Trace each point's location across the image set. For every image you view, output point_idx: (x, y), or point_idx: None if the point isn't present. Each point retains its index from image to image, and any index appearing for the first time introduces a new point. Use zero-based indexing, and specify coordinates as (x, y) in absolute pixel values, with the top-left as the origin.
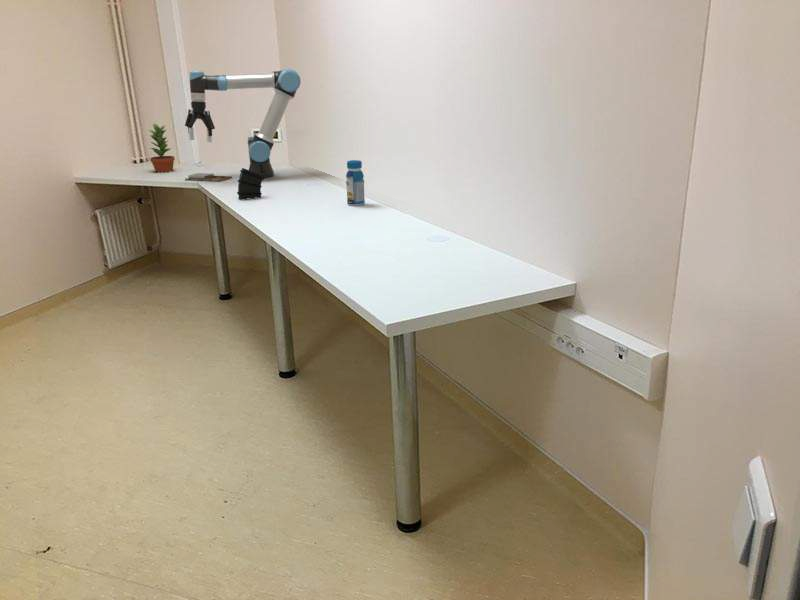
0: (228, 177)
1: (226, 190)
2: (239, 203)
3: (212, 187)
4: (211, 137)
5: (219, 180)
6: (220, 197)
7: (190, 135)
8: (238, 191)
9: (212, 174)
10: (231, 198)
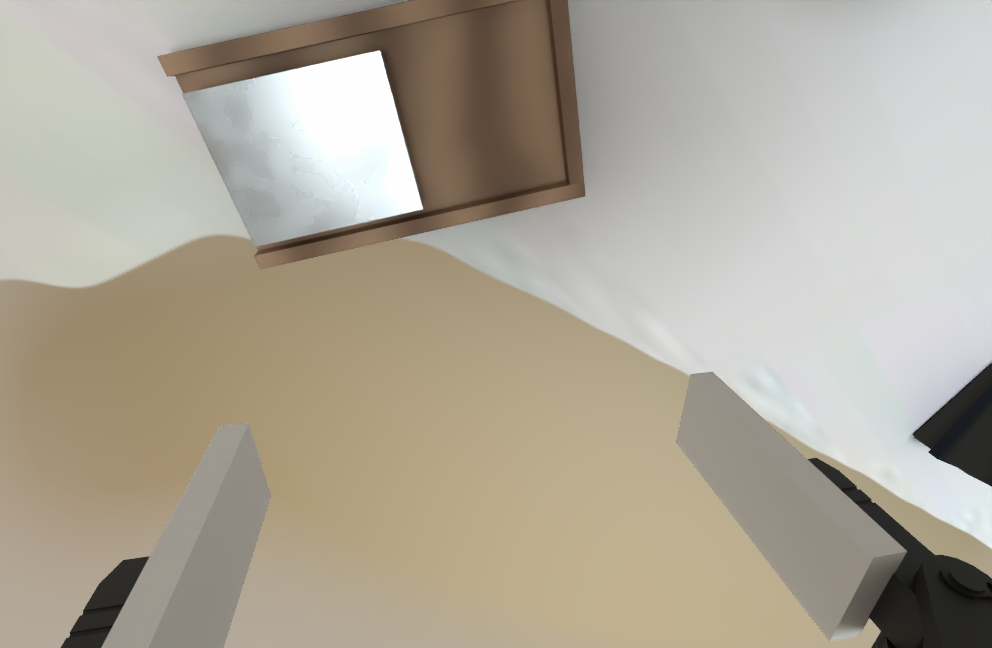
0: (571, 45)
1: (760, 333)
2: (940, 476)
3: (621, 308)
4: (764, 423)
5: (584, 192)
6: (813, 447)
7: (245, 565)
8: (948, 460)
9: (386, 73)
10: (873, 439)
